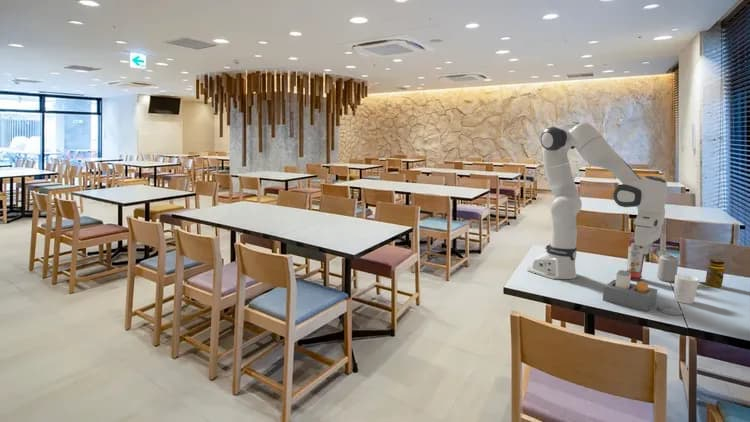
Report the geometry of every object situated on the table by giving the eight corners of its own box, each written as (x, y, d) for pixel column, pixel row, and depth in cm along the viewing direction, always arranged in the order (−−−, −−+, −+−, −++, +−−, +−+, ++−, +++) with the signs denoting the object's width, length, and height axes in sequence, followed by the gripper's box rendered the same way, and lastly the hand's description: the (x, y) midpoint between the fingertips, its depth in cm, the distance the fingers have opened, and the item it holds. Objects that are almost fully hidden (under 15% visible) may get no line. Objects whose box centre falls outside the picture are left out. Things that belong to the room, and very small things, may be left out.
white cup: (672, 296, 185) (675, 273, 183) (695, 300, 181) (698, 276, 179) (671, 301, 179) (674, 278, 177) (695, 306, 174) (699, 282, 172)
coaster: (655, 311, 169) (655, 309, 169) (660, 305, 174) (660, 304, 174) (679, 317, 163) (679, 315, 163) (684, 311, 169) (685, 310, 168)
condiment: (725, 289, 194) (729, 263, 192) (703, 287, 197) (706, 261, 194) (718, 284, 201) (722, 258, 199) (696, 282, 203) (700, 257, 201)
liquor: (644, 279, 206) (651, 220, 202) (639, 282, 202) (646, 222, 197) (627, 275, 212) (634, 218, 207) (622, 278, 207) (628, 220, 202)
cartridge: (612, 299, 180) (615, 271, 178) (616, 296, 183) (619, 269, 181) (625, 303, 177) (628, 274, 174) (629, 300, 180) (632, 271, 178)
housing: (602, 300, 179) (604, 286, 178) (612, 293, 188) (614, 279, 187) (646, 311, 168) (648, 296, 167) (655, 303, 176) (657, 289, 175)
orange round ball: (634, 293, 174) (635, 282, 174) (637, 291, 177) (638, 280, 176) (645, 296, 172) (646, 285, 171) (648, 294, 174) (649, 283, 173)
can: (678, 283, 202) (682, 257, 199) (660, 281, 203) (663, 256, 201) (671, 277, 209) (674, 253, 207) (654, 276, 210) (657, 252, 208)
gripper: (649, 214, 178) (645, 247, 181) (633, 220, 164) (628, 256, 167) (667, 216, 174) (662, 250, 176) (652, 223, 160) (647, 260, 162)
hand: (646, 253), depth 171 cm, fingers closed
